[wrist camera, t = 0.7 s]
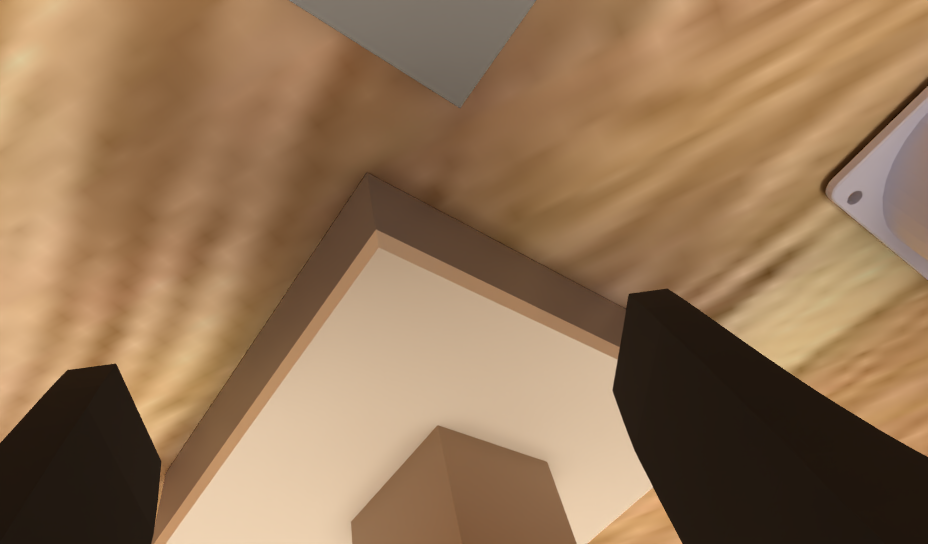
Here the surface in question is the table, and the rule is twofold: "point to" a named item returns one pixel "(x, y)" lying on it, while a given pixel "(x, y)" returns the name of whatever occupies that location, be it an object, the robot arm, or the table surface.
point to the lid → (423, 423)
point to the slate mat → (428, 36)
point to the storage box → (325, 268)
